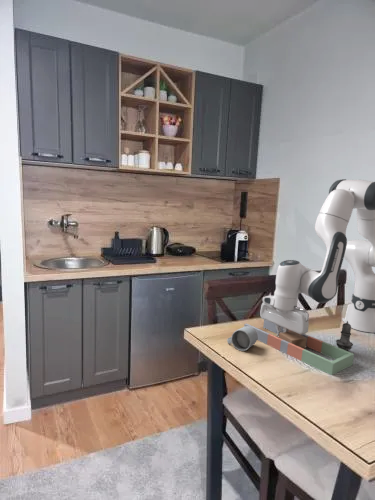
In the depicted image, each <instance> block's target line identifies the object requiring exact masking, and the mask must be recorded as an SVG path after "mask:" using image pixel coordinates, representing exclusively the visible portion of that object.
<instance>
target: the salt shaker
mask: <svg viewBox="0 0 375 500" xmlns="http://www.w3.org/2000/svg"><path fill="white" fill-rule="evenodd" d="M351 332H352V328H351V325H350V324H349V323H348V321H347V323H345V322H344V323H343V324H342V328H341V331H340V338H339V339H336V340H335V343H336V347H338V348H341V349H343V350H346V351H348V352H351V351H350V350H351V349H352V348H353V346H354V343H353V342H351V340H350V339H351V336H352V333H351Z"/></svg>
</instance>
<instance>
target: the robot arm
mask: <svg viewBox="0 0 375 500" xmlns="http://www.w3.org/2000/svg"><path fill="white" fill-rule="evenodd" d="M354 209H356V222H357V223H356V226H357V232H358V233H359V235H360V237H362V238H363V239H351V240H348V239H347V236H346V234H347V229H348V226H349V222H350V219H351V217H352V214H353V210H354ZM314 230H315V234H316V235H317V236H318V238H319V239H320V240H321V241H322V242H323V243H324V245H325V247H326V252H325V255H324V256H325V257H324V260H323V264H322V268H321V271H320V272H318V271H315V270H313V269H310V268H308V267H306V266H305V265H303V264H302V263H301V262H300V261H299V260H296V259H286V260H283V261H281V262H280V263H279V265H278V266H277V268H276V269H277V270H276V275H275V290H274V292H273V294H272V295H271V294H270V295H265V296H263V297H262V303H261V305H260V314H259V315H260V318H261V319H262V320H263V321H264V320H267V321H269V322H272V323H274V324H276V326H275V327H276V329H277V333H276V335H277V336H276V337H279V333H282V330H281V327H283V330H284V332H288V331H289V330H291V331H293V332H296V333H298V334H301V335H302V334H307V333H308V332H309V327H310V326H309V325H310V324H309V318H310V313H309V312H308V311H307V309H305V308H302V307H299V306H298V301H299V294H304V295H305V296H307V297H308V298H309V297H310V298H311V299H312V300H313V301H315V302H317V303H319V304H325V303H328V302H330V301H332V300H334V299H333V298H335V297H336V295H337V293H338V287H339V277H340V273H341V270H342V265H343V261H344V259H345V261H347V262H348V263H349V265H350V266H351V268H352V270H353V275H354V289H353V293H352V295H351V303H349V304H348V305H347V309H346V312H345V316H344V317H342V318H341V320H342V322H344V323H347V321H348V323H349V324H350V325H351V329H353V330H357V331H360V332H365V333H373V334H374V333H375V272H374V271H373V268H375V181H372V180H366V179H346V178H345V179H337V180H335V181H334V182H333V183H332V184H331V186H330V187H329V190H328V195H327V197H326V199H325V200H324V201H323V204H322V206H321V207H320V209H319V212H318V214H317V217H316V219H315V224H314ZM364 239H366V240H364Z"/></svg>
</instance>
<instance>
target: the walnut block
mask: <svg viewBox="0 0 375 500" xmlns="http://www.w3.org/2000/svg"><path fill="white" fill-rule="evenodd" d="M278 338H281V339H283V340H285V341H287V342H290V343H292V344H294V345H296V346H299V347H301V348H303V349H305V350H307V349H306V348H307V347H306V341H307V338H305V337H304V336H302V335H300V334H298V333H296V332H293V331H290V332H282V333H279V336H278Z"/></svg>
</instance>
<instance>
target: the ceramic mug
mask: <svg viewBox="0 0 375 500" xmlns="http://www.w3.org/2000/svg"><path fill="white" fill-rule="evenodd" d="M257 338H258V335H257V332H256V330H255V329H254V328H252V327H250V326H245V327H244V326H243V327H241V328H238V329H236V330H235V331H233V333H232V334H231V336H230V337H228V338H227V339H226V341H227V344H232V345H233V347H234V348H235V349H236V350H238V351H241V352H244V351H245V352H246V351H247V350H249V349H250V348H251V347H253V345H255V344H256V343H257V341H258V340H257Z"/></svg>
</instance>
